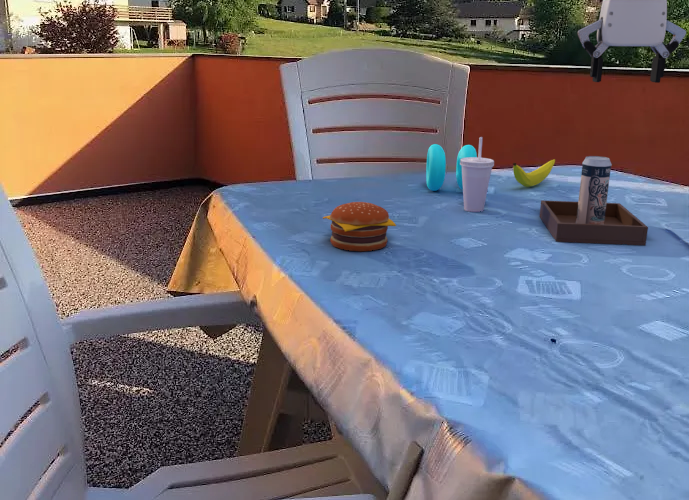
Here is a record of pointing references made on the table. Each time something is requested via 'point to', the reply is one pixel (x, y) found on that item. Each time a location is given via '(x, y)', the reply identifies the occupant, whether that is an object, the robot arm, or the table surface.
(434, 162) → the donuts
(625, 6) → the robot arm
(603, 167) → the beer can
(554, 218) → the tray
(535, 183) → the banana
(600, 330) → the table surface
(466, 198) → the smoothie
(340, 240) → the hamburger
